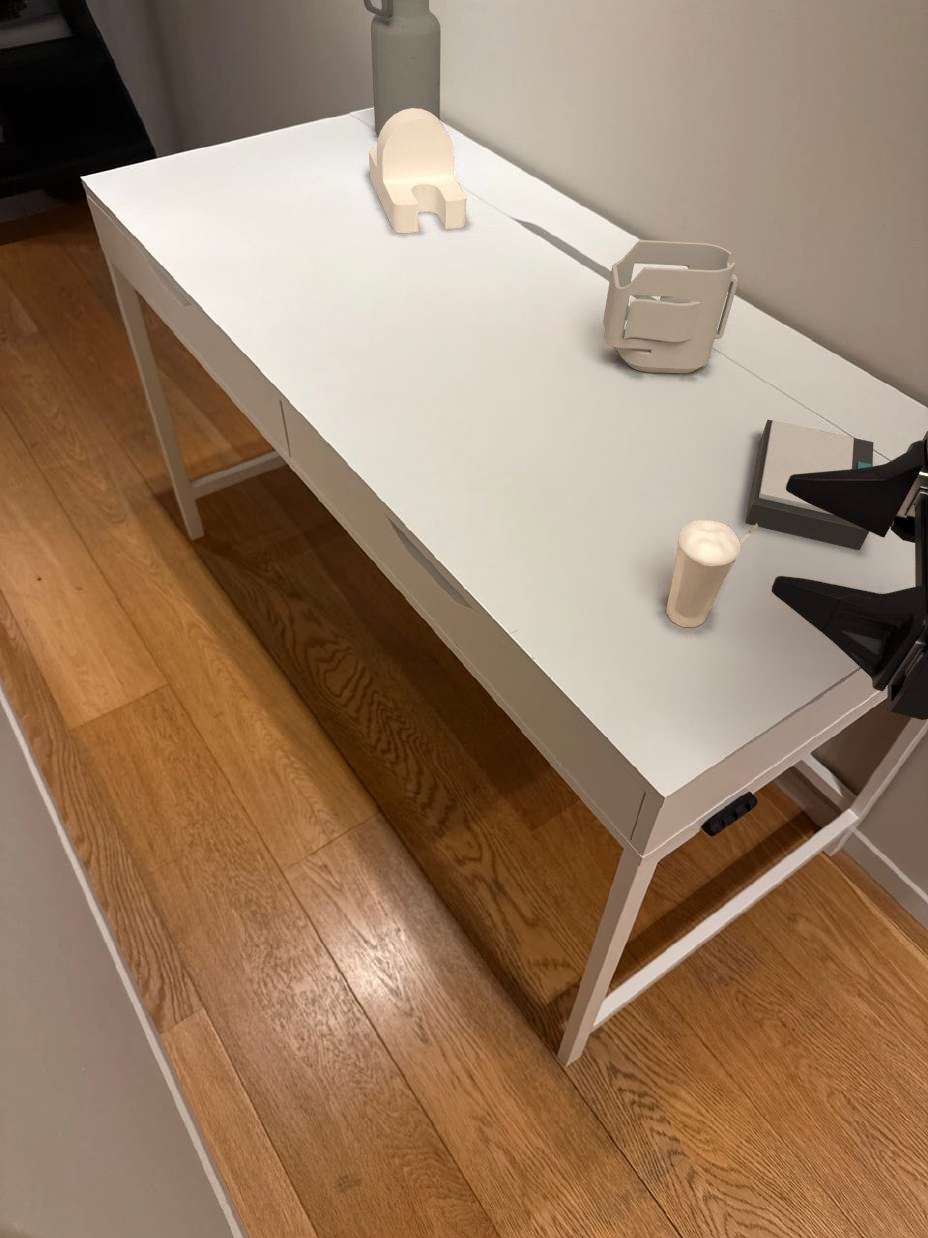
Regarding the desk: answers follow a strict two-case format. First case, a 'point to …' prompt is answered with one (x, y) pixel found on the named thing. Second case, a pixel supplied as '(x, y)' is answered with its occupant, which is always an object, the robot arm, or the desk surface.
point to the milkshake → (701, 569)
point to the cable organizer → (669, 305)
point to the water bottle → (404, 58)
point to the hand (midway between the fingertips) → (781, 530)
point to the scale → (799, 454)
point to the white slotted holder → (416, 171)
